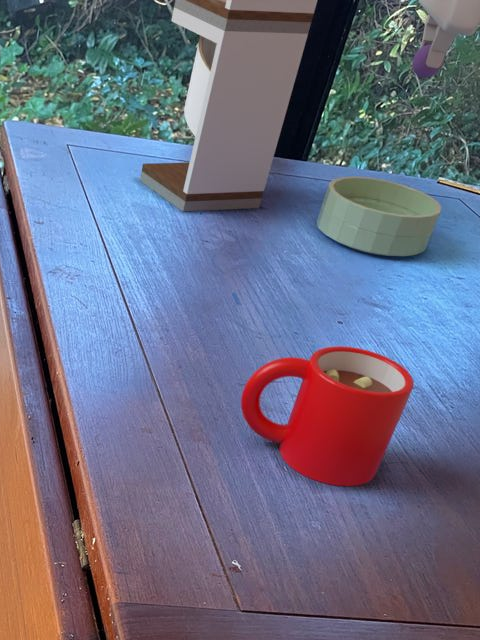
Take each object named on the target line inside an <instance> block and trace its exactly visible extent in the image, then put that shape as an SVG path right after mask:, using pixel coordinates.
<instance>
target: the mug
mask: <svg viewBox="0 0 480 640" xmlns="http://www.w3.org/2000/svg"><path fill="white" fill-rule="evenodd" d="M287 377H288V378H291V377H292V378H297V379H301V383H300V386H299V388H298V392H297V395H296V397H295V400H294V403H293V406H292V409H291V412H290V414H289V418H288V421H287V424H282V423H278V422H275V421H272V420H271V419H269V418H268V417H267V416H265V414H264V413H263V411H262V407H261V396H262V395H263V394H262V393H263V392H264V390H265V388H267V386H269V385H270V384H271V383H273V382H274V381H276V380H279V379H283V378H287ZM413 390H414V379H413V377H412V375H411V373H410V372H409V371H408V370H407V369H406V368H405V367H404V366H402V365H401V364H400V363H397V362H396V361H395V360H393V359H391V358H389V357H387V356H384V355H382V354H380V353H377V352H374V351H372V350H371V351H370V350H367V349H363V348H359V347H352V346H343V345H342V346H341V345H339V346H337V345H335V346H327V347H323V348H320V349H318V350H316V351H314V352H313V353H312V355H311V356H310V358H309V359H306V358H303V357H294V356H293V357H292V356H291V357H289V356H288V357H281V358H277V359H274V360H271V361H269V362H266V363H265V364H264V365H261V367H259V368H258V369H257V370H255V372H253V374H252V375H251V376H250V378H249V379H248V380H247V382H246V383H245V385H244V386H243V391H242V394H241V399H240V405H241V406H240V407H241V412H242V415H243V418H244V421H245V422H246V423H247V425H248V426H249V428H250V429H251V430H252V431H253V432H254V433H255V434H257V435H258V436H259V437H261V438H263V439H265V440H267V441H271V442H274V443H280V444H279V448H278V449H279V454H280V456H281V458H282V460H283V461H284V462H285V463H286V464H287V465H288V466H289V467H290V468H291V469H293V470H294V471H296V472H297V473H299V474H300V475H303V476H305V477H306V478H309V479H311V480H314V481H317V482H319V483H322V484H327V485H332V486H336V487H337V486H339V487H356V486H361V485H365V484H367V483H370V482H371V481H372V480H373V479H374V478H375V476H376V474H377V472H378V469H379V468H380V465H381V464H382V461H383V458H384V456H385V454H386V451H387V449H388V447H389V444H390V442H391V440H392V437H393V436H394V433H395V431H396V429H397V427H398V424H399V421H400V419H401V417H402V414H403V413H404V410H405V409H406V405H407V402H408V400H409V398H410V396H411V393H412V392H413Z"/></svg>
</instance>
